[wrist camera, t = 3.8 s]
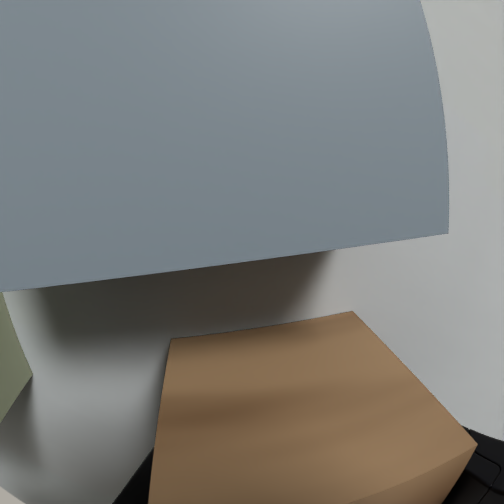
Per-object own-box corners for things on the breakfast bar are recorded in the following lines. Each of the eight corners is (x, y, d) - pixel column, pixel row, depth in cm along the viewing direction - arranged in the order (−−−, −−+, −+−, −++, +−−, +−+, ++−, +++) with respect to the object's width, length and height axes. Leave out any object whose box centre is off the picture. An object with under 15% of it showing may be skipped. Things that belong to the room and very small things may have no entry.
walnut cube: (343, 430, 10) (405, 549, 5) (204, 456, 9) (215, 594, 4) (352, 311, 9) (477, 444, 3) (170, 338, 8) (145, 528, 3)
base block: (346, 202, 8) (448, 233, 4) (78, 237, 7) (-10, 292, 4) (314, -29, 6) (371, -110, 2) (68, -2, 6) (7, -73, 2)
